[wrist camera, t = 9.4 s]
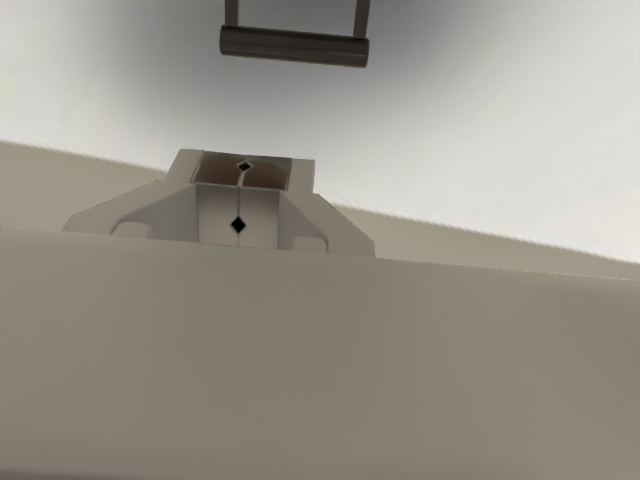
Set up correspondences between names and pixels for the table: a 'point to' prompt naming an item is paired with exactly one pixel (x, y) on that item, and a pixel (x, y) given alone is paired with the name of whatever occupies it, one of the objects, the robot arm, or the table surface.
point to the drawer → (296, 41)
